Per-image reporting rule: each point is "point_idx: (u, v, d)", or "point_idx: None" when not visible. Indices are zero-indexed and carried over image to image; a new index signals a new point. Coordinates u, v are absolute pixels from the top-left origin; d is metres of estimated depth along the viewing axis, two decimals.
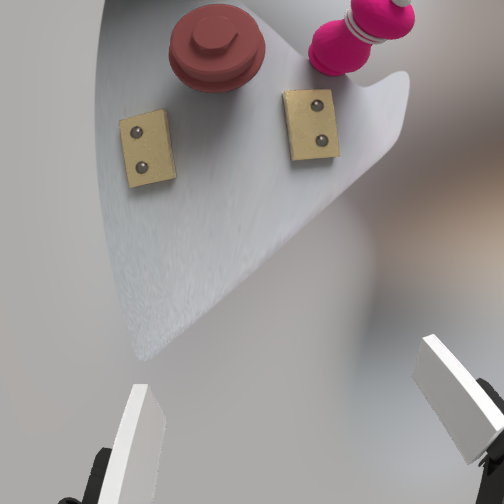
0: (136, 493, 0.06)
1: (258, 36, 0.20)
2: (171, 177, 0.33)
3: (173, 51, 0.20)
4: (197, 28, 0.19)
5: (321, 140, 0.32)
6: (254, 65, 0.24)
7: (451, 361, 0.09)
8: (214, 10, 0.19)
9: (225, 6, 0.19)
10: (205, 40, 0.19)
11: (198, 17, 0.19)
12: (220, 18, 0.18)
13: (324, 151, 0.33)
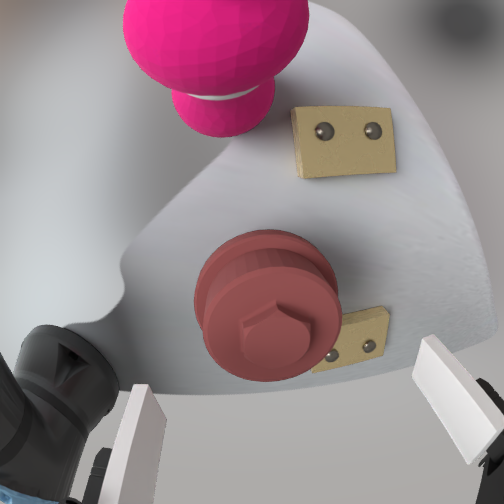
0: (136, 493, 0.06)
1: (279, 269, 0.15)
2: (388, 316, 0.28)
3: (291, 376, 0.17)
4: (266, 364, 0.15)
5: (374, 133, 0.21)
6: (305, 251, 0.18)
7: (451, 361, 0.09)
8: (219, 337, 0.16)
9: (209, 322, 0.15)
10: (292, 353, 0.15)
11: (233, 356, 0.16)
12: (248, 337, 0.15)
13: (385, 129, 0.21)
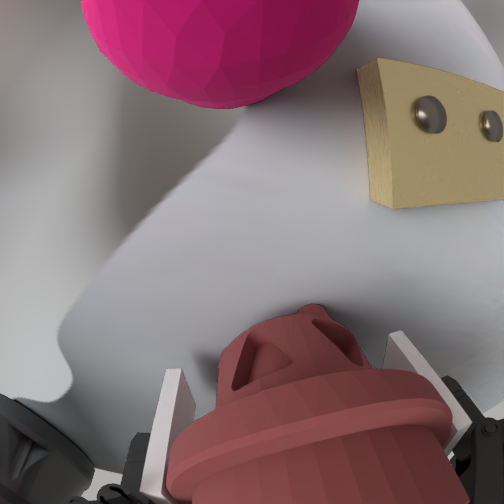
0: None
1: None
2: None
3: None
4: None
5: (495, 130, 0.08)
6: (425, 416, 0.05)
7: (416, 357, 0.10)
8: None
9: None
10: None
11: None
12: None
13: None
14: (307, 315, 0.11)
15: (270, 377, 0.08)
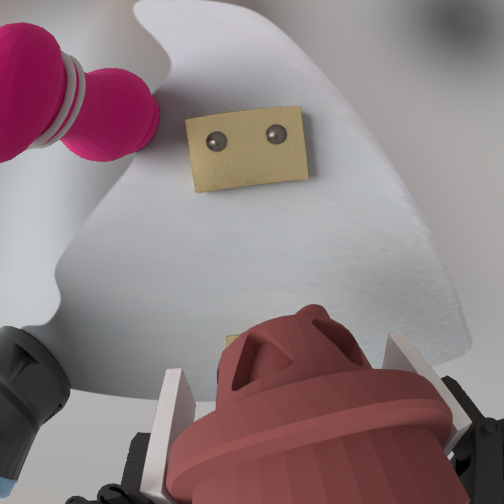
0: None
1: None
2: None
3: None
4: None
5: (276, 136, 0.20)
6: (426, 416, 0.05)
7: (416, 357, 0.10)
8: None
9: None
10: None
11: None
12: None
13: (293, 130, 0.20)
14: (307, 315, 0.11)
15: (270, 377, 0.08)
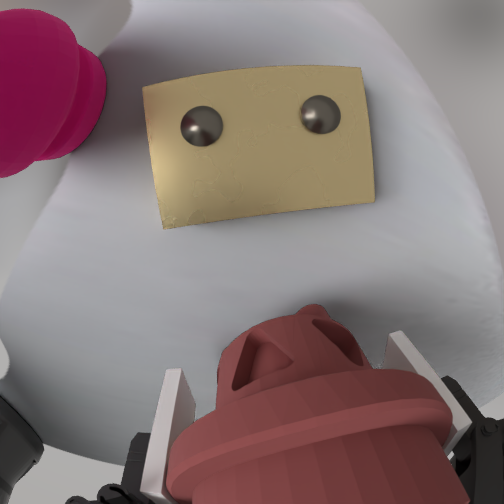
0: None
1: None
2: None
3: None
4: None
5: (321, 119, 0.10)
6: (425, 416, 0.05)
7: (416, 357, 0.10)
8: None
9: None
10: None
11: None
12: None
13: (351, 110, 0.10)
14: (307, 315, 0.11)
15: (270, 377, 0.08)
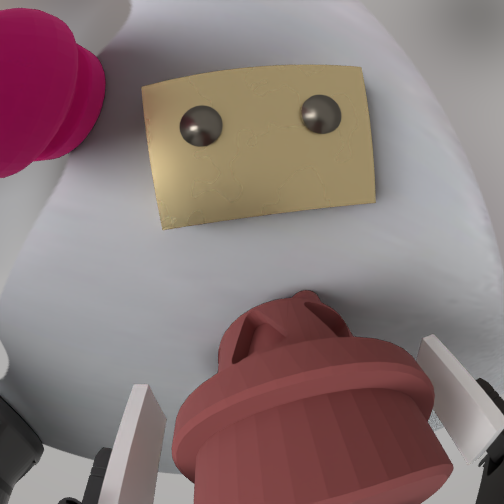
0: (136, 493, 0.06)
1: (376, 489, 0.04)
2: None
3: None
4: None
5: (321, 118, 0.10)
6: (404, 382, 0.07)
7: (451, 361, 0.09)
8: None
9: None
10: None
11: None
12: None
13: (351, 110, 0.10)
14: (300, 298, 0.13)
15: (266, 350, 0.10)
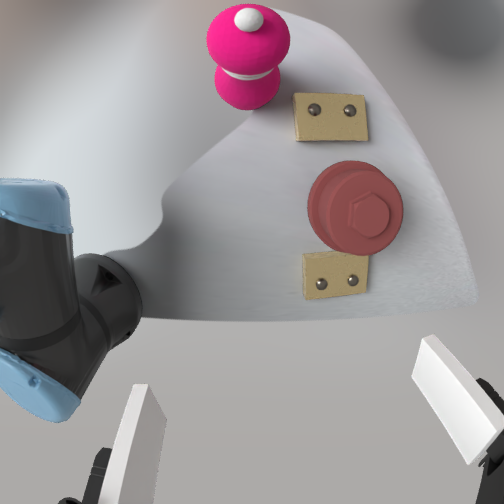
0: (136, 493, 0.06)
1: (372, 172, 0.24)
2: None
3: (373, 252, 0.26)
4: (364, 232, 0.24)
5: (350, 111, 0.30)
6: None
7: (451, 361, 0.09)
8: (336, 213, 0.25)
9: (332, 201, 0.24)
10: (379, 225, 0.24)
11: (342, 229, 0.25)
12: (357, 209, 0.24)
13: (359, 109, 0.30)
14: None
15: None
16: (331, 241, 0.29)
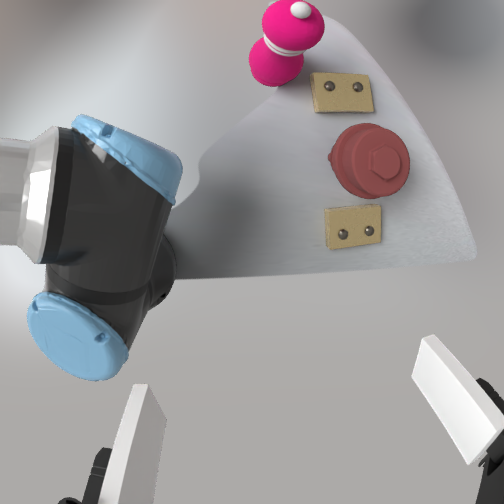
0: (136, 493, 0.06)
1: (384, 129, 0.28)
2: (379, 207, 0.41)
3: (390, 194, 0.31)
4: (382, 174, 0.29)
5: (358, 88, 0.34)
6: None
7: (451, 361, 0.09)
8: (359, 160, 0.29)
9: (356, 151, 0.29)
10: (393, 169, 0.29)
11: (365, 173, 0.30)
12: (376, 156, 0.28)
13: (365, 86, 0.34)
14: None
15: None
16: (354, 188, 0.33)
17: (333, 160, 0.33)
